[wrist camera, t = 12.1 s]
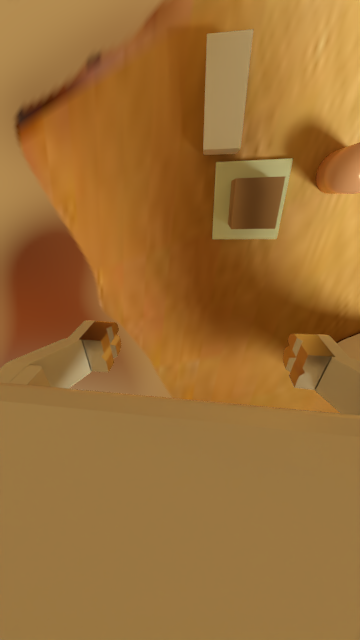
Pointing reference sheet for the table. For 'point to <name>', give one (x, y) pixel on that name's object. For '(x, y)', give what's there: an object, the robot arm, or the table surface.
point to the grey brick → (226, 90)
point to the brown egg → (340, 171)
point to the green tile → (223, 188)
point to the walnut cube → (255, 202)
